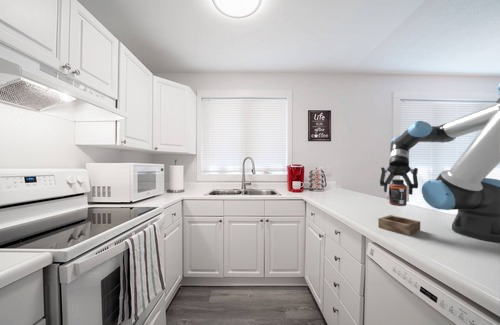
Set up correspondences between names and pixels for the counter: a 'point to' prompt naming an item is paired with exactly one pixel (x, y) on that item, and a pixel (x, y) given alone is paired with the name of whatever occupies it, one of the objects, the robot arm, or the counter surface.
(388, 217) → the walnut collar
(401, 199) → the supplement bottle
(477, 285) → the counter surface
